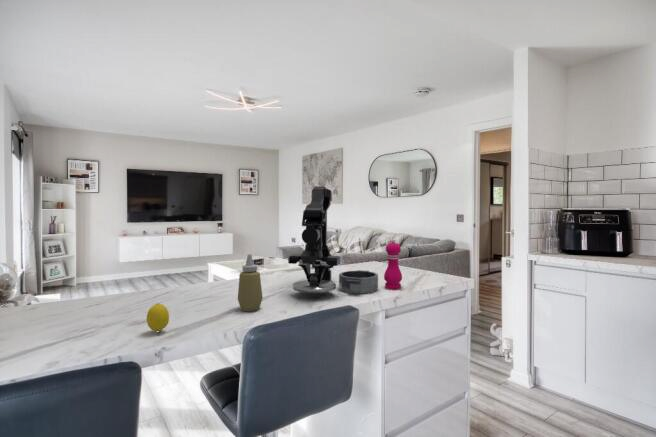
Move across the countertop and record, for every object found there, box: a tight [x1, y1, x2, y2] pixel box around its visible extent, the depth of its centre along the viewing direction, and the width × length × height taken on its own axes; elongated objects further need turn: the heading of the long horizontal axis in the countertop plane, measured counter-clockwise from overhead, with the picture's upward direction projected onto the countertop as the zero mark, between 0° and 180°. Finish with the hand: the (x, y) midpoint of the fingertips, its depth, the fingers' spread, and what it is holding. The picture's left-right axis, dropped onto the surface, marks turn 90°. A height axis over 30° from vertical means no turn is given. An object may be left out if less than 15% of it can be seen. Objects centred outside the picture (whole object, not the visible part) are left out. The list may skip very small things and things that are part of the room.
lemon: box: [146, 302, 170, 332], centre depth 101 cm, size 6×6×8 cm
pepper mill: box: [383, 238, 403, 291], centre depth 151 cm, size 7×7×20 cm
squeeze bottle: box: [237, 254, 263, 312], centre depth 122 cm, size 8×8×18 cm
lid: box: [292, 272, 337, 295], centre depth 140 cm, size 16×16×6 cm
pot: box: [338, 269, 379, 295], centre depth 149 cm, size 15×21×6 cm
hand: (314, 282), depth 140 cm, fingers closed on lid, 4 cm apart
